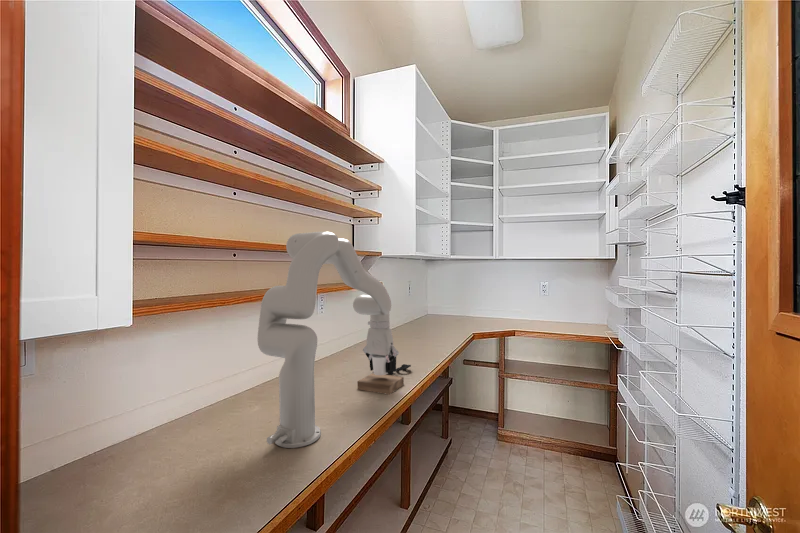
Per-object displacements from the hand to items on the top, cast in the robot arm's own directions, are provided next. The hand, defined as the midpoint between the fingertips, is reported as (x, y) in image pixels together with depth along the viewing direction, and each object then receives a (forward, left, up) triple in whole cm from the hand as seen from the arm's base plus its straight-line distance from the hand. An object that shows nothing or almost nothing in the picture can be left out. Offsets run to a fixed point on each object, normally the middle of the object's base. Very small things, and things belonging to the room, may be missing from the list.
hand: (380, 370), depth 143 cm
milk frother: (+18, +5, -7) cm, 20 cm away
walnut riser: (0, 0, -7) cm, 7 cm away
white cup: (0, 0, -1) cm, 1 cm away
